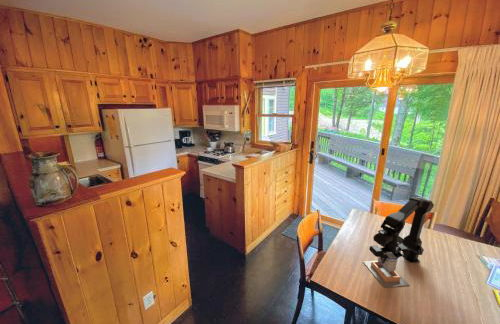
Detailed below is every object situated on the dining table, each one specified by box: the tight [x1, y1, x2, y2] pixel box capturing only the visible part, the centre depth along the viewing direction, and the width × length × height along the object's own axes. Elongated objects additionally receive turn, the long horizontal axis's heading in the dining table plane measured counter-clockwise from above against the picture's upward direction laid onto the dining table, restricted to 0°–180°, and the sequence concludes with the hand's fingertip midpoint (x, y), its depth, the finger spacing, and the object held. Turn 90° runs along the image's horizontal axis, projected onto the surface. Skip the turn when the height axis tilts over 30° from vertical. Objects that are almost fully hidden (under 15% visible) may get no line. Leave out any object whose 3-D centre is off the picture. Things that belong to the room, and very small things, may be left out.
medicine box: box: [377, 252, 399, 272], centre depth 111 cm, size 8×4×9 cm, turn 4°
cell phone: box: [378, 229, 404, 244], centre depth 143 cm, size 9×18×1 cm, turn 15°
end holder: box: [362, 259, 411, 289], centre depth 113 cm, size 14×18×3 cm
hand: (386, 262), depth 112 cm, fingers closed on medicine box, 4 cm apart
